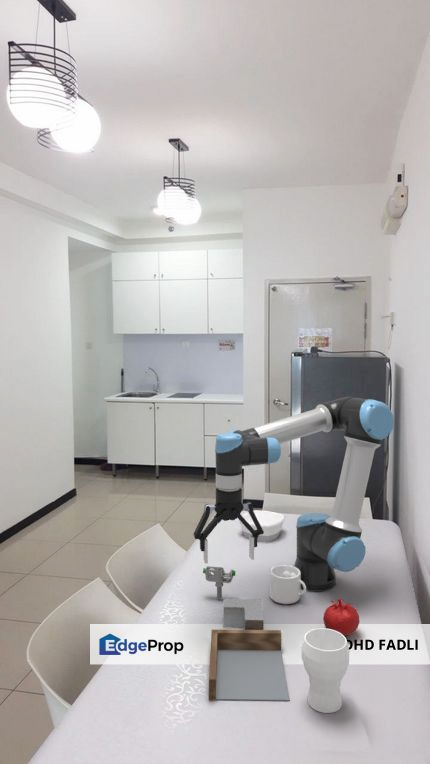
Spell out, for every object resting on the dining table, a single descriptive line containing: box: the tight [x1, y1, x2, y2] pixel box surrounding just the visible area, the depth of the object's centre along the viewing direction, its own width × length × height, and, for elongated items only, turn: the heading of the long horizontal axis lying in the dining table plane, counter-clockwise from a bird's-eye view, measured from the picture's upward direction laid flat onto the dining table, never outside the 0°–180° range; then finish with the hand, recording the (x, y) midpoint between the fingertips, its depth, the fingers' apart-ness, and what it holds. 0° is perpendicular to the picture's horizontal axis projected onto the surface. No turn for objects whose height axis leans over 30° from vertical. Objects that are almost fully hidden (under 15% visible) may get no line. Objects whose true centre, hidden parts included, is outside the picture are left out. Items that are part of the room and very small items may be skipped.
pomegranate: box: [322, 598, 360, 636], centre depth 155 cm, size 10×10×9 cm
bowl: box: [238, 509, 286, 543], centre depth 227 cm, size 18×18×9 cm
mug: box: [269, 564, 307, 605], centre depth 174 cm, size 12×10×9 cm
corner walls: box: [208, 629, 282, 701], centre depth 136 cm, size 19×22×5 cm
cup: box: [301, 627, 350, 714], centre depth 124 cm, size 11×11×15 cm
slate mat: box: [215, 649, 291, 702], centre depth 135 cm, size 17×20×1 cm
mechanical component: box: [202, 565, 236, 601], centre depth 174 cm, size 3×10×10 cm, turn 78°
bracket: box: [223, 598, 264, 630], centre depth 156 cm, size 11×12×6 cm
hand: (228, 559), depth 158 cm, fingers open, 13 cm apart
